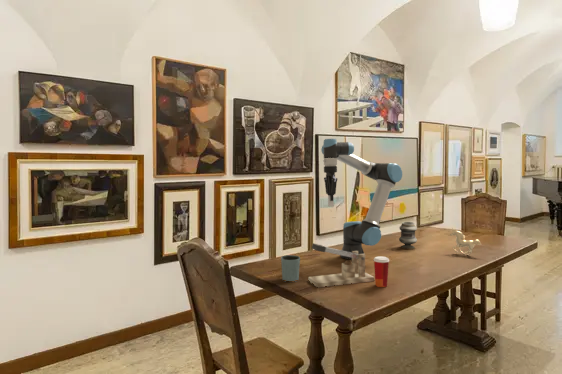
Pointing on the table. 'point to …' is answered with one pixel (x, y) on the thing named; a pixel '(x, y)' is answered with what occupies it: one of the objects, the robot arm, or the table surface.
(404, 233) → the apothecary jar
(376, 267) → the paper cup
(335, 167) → the robot arm
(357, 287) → the table surface
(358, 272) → the press base
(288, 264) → the blue grey planter pot
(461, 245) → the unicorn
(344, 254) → the lever
